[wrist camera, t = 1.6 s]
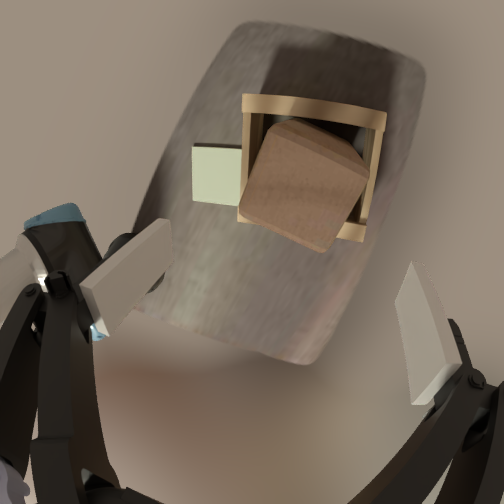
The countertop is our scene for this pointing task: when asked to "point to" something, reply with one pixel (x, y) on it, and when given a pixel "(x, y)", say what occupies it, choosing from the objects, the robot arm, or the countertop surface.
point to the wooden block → (304, 183)
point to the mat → (216, 175)
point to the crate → (322, 110)
